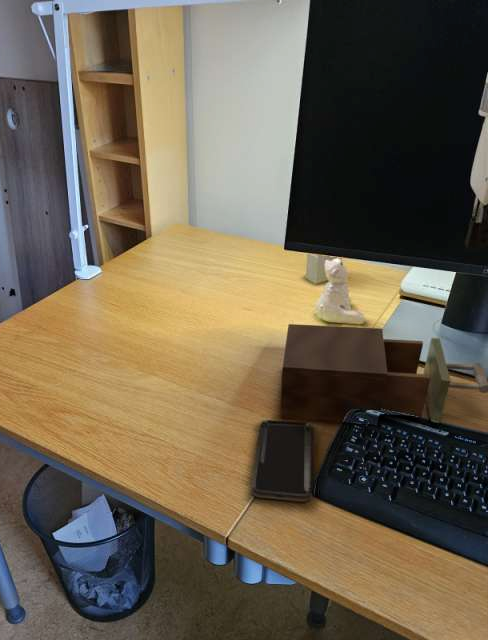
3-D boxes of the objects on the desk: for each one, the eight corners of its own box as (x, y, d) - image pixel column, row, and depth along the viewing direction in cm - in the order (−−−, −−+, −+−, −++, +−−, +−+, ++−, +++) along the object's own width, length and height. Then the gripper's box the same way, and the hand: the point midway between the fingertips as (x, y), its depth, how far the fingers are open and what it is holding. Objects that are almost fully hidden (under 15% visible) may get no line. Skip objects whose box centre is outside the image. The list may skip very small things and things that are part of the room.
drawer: (470, 382, 89) (483, 340, 85) (485, 427, 81) (499, 383, 76) (344, 373, 94) (349, 333, 89) (344, 416, 85) (350, 374, 80)
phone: (313, 423, 83) (311, 496, 72) (312, 429, 84) (310, 503, 72) (260, 419, 85) (250, 491, 73) (260, 425, 86) (250, 497, 74)
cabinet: (374, 378, 94) (382, 328, 88) (377, 426, 84) (387, 373, 78) (286, 372, 97) (288, 323, 91) (279, 418, 87) (282, 366, 81)
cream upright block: (340, 276, 125) (344, 232, 119) (315, 283, 123) (319, 239, 117) (329, 270, 128) (333, 227, 122) (305, 278, 125) (308, 234, 119)
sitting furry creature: (366, 325, 107) (375, 266, 100) (323, 331, 107) (328, 272, 99) (347, 303, 115) (354, 247, 108) (307, 308, 114) (311, 252, 107)
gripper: (571, 112, 60) (520, 272, 71) (534, 88, 71) (495, 229, 82) (495, 114, 61) (457, 270, 72) (470, 90, 73) (441, 228, 84)
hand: (477, 248), depth 77 cm, fingers closed
